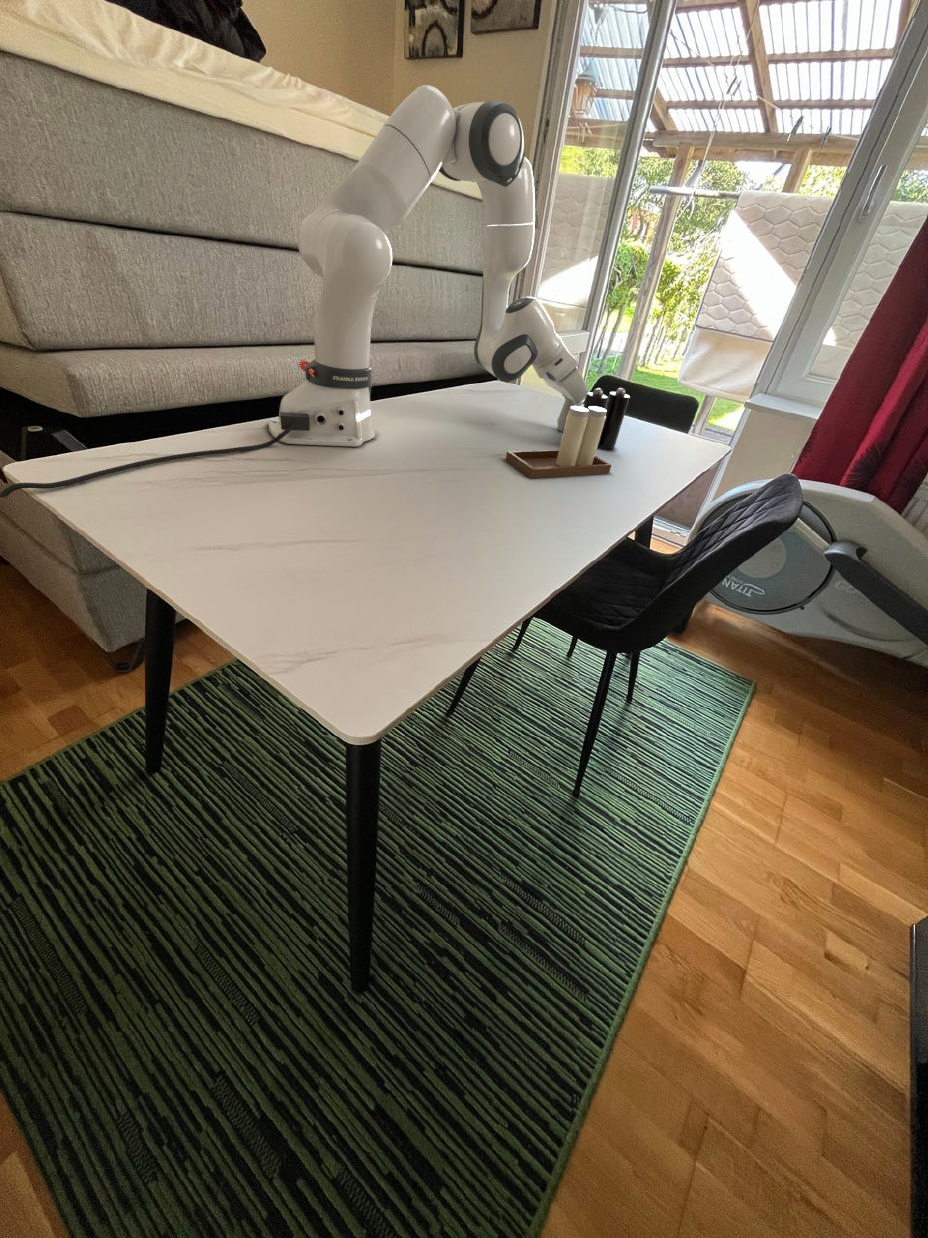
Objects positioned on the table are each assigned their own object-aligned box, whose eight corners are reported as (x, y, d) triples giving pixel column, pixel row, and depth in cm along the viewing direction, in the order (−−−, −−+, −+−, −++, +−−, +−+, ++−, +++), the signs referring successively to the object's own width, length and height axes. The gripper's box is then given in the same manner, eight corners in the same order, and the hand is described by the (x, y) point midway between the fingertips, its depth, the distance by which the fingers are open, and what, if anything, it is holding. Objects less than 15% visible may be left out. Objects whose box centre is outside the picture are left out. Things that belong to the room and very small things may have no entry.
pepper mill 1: (580, 453, 127) (597, 391, 119) (568, 446, 130) (584, 385, 122) (596, 452, 129) (614, 391, 121) (584, 445, 133) (600, 385, 124)
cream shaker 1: (563, 468, 115) (577, 411, 107) (551, 461, 118) (565, 405, 110) (578, 467, 117) (594, 411, 109) (567, 460, 120) (581, 405, 112)
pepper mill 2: (603, 450, 131) (621, 390, 123) (590, 443, 135) (607, 384, 126) (617, 450, 133) (636, 391, 125) (605, 443, 137) (622, 385, 128)
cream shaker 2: (580, 467, 117) (596, 411, 110) (569, 460, 120) (583, 405, 113) (595, 466, 119) (611, 411, 112) (584, 459, 122) (599, 405, 115)
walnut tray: (530, 478, 108) (533, 469, 107) (505, 459, 115) (507, 451, 114) (608, 473, 118) (611, 465, 116) (580, 456, 125) (583, 448, 124)
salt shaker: (575, 429, 144) (588, 379, 136) (577, 435, 139) (590, 384, 132) (554, 426, 144) (566, 376, 136) (555, 431, 139) (568, 380, 132)
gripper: (525, 359, 137) (549, 400, 146) (557, 379, 122) (582, 423, 131) (543, 342, 136) (567, 385, 145) (579, 360, 121) (603, 406, 129)
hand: (574, 403), depth 138 cm, fingers closed on salt shaker, 3 cm apart
